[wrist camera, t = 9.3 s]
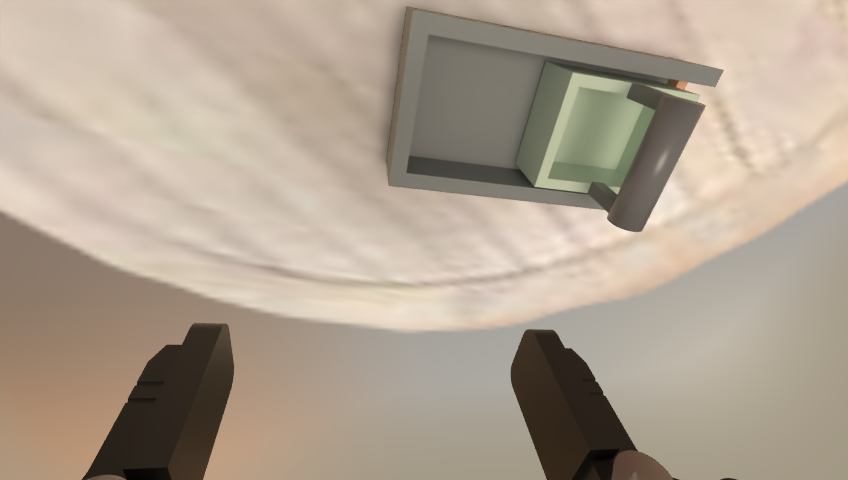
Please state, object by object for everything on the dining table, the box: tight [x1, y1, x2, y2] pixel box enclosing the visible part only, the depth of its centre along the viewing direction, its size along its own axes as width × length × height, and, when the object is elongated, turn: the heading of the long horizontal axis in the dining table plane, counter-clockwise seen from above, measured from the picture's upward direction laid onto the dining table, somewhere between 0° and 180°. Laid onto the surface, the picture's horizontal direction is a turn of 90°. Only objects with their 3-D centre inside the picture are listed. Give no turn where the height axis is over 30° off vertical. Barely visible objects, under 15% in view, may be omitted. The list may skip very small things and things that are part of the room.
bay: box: [386, 7, 724, 210], centre depth 33 cm, size 12×23×5 cm, turn 80°
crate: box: [515, 61, 706, 232], centre depth 30 cm, size 8×10×11 cm
